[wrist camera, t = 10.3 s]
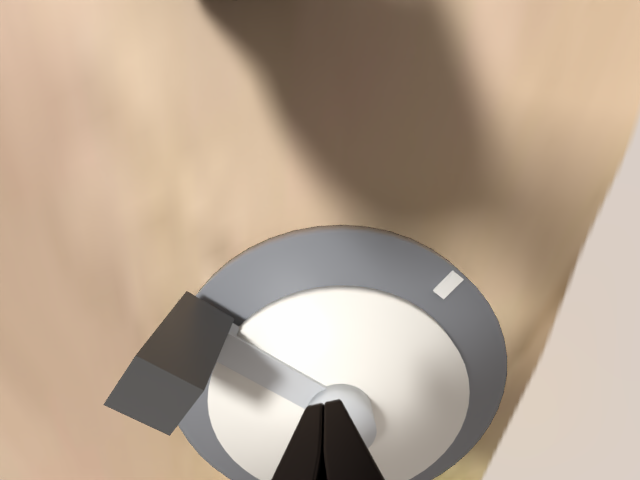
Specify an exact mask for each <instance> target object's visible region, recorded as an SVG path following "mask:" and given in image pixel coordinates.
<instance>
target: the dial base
mask: <svg viewBox="0 0 640 480" xmlns="http://www.w3.org/2000/svg"><path fill="white" fill-rule="evenodd" d="M335 285H344V286H360V287H367V288H374V289H377V290H381V291H385V292H388V293H392V294H394V295H396V296H399V297H401V298H404V299H406V300H408V301H410V302H411V303H413V304H415V305H416V306H418V307H420V308H421V309H423V310H424V311H425V312H426V313H428V314H429V315H430V316H432V317H433V318H434V319H435V320H436V321H437V322H438V323H439V325H440V326H441V327H442V328H443V329H444V330H445V332H446V333H447V335H448V336H449V338H450V339H451V341H452V342H453V344H454V345H455V347H456V348H457V350H458V351H459V353H460V355H461V357H462V359H463V362H464V364H465V367H466V371H467V374H468V378H469V390H470V394H469V405H468V409H467V413H466V417H465V420H464V422H463V425H462V427H461V430H460V431H459V433H458V435H457V436H456V438H455V440H454V441H453V443H452V444H451V445H450V446H449V448H448V449H447V450H446V451H445V453H444V454H443V455H442V456H441V457H440V458H439V459H438V460H437V461H435V462H434V463H433V464H432V465H431V466H429V467H428V468H427V469H425V470H424V471H423V472H421V473H419V474H418V475H416V476H415V477H413V478H411V479H409V480H432V479H434V478H435V477H437V476H439V475H441V474H442V473H443V472H445V471H446V470H448V469H449V468H450V467H452V466H453V465H455V464H456V463H457V462H458V461H459V460H460V459H461V458H462V457H464V456H465V455H466V454H467V453H468V452H469V451H470V450H471V449H472V448H473V446H474V445H475V444H476V443H477V442H478V441H479V440H480V438H481V437H482V435H483V434H484V433H485V431H486V430H487V428H488V427H489V425H490V424H491V422H492V420H493V418H494V416H495V414H496V412H497V410H498V407H499V404H500V401H501V398H502V396H503V393H504V387H505V381H506V376H507V354H506V348H505V341H504V337H503V334H502V331H501V328H500V325H499V322H498V320H497V318H496V316H495V314H494V312H493V310H492V308H491V307H490V305H489V303H488V302H487V300H486V299H485V298H484V296H483V295H482V294H481V293H480V291H479V290H478V289H477V287H476V286H475V285H474V284H473V283H472V282H471V281H470V280H468V279H467V278H466V277H465V276H464V275H463V274H462V273H461V272H460V271H459V270H458V269H457V268H456V267H455V266H454V265H453V264H452V263H451V262H449V261H448V260H447V259H445V258H444V257H442V256H441V255H439V254H438V253H437V252H435V251H434V250H432V249H431V248H429V247H427V246H425V245H423V244H421V243H419V242H417V241H415V240H413V239H410V238H407V237H404V236H401V235H399V234H396V233H393V232H390V231H385V230H380V229H375V228H370V227H363V226H349V225H333V226H317V227H311V228H306V229H300V230H295V231H291V232H288V233H285V234H282V235H278V236H275V237H272V238H269V239H267V240H265V241H263V242H261V243H259V244H257V245H254V246H252V247H250V248H248V249H247V250H245V251H244V252H242V253H240V254H239V255H237V256H236V257H234V258H233V259H231V260H230V261H228V262H227V263H226V264H225V265H224V266H223V267H222V268H220V269H219V270H218V271H217V272H216V273H215V274H213V275H212V277H211V278H210V279H209V280H208V281H207V282H206V284H205V285H204V286H203V287H202V288H201V289H200V290H199V292H198V293H197V295H196V297H198V298H199V299H201V300H203V301H205V302H206V303H208V304H210V305H212V306H213V307H215V308H217V309H218V310H220V311H222V312H224V313H225V314H227V315H229V316H231V317H232V318H234V321H233V323H234V324H236V325H237V326H240V325H241V324H242V323H243V322H244V321H245V320H246V319H248V318H249V317H250V316H251V315H252V314H253V313H255V312H256V311H258V310H260V309H261V308H263V307H264V306H266V305H267V304H269V303H271V302H273V301H275V300H277V299H280V298H282V297H284V296H287V295H290V294H293V293H296V292H299V291H302V290H307V289H311V288H316V287H324V286H335ZM216 363H217V362H216ZM215 365H216V364H215ZM214 367H215V366H214ZM213 370H214V369H213ZM212 372H213V371H212ZM211 375H212V373H211ZM210 379H211V376H210V378H209V380H208V383H207V385H206V388H205V390H204V392H203V393H202V394H201V395H200V397H199V398H198V399H197V401H196V402H195V403H194V405H193V406H192V407H191V409H190V410H189V411H188V412H187V414H186V415H185V416H184V418H183V419H182V420H181V422H180V423H179V424H178V425H179V427H180V429H181V430H182V432H183V433H184V435H185V437H186V438H187V440H188V441H189V443H190V444H191V445H192V446H193V447H194V449H195V450H196V451H197V452H198V453H199V454H200V456H202V457H203V458H204V459H205V460H206V461H207V462H208V463H209V464H210V465H211V466H212V467H214V468H215V469H216V470H218V471H219V472H221V473H222V474H223V475H225V476H226V477H228V478H229V479H231V480H259V479H258V478H256V477H254V476H253V475H251V474H250V473H248V472H247V471H246V470H244V469H243V468H242V467H241V466H240V465H238V464H237V463H236V462H235V461H234V460H233V459H232V458H231V457H230V456H229V454H228V453H227V452H226V451H225V450H224V448H223V447H222V445H221V443H220V442H219V440H218V439H217V436H216V434H215V432H214V430H213V428H212V424H211V421H210V417H209V411H208V388H209V383H210Z"/></svg>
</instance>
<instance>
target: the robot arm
mask: <svg viewBox="0 0 640 480" xmlns="http://www.w3.org/2000/svg"><path fill="white" fill-rule="evenodd" d="M271 480H385V479H384V477H383V475H382V473H381V472H380V470H379V468H378V466H377V464H376V462H375V461H374V459H373V457H372V455H371V453H370V451H369V450H368V448H367V446H366V444H365V442H364V440H363V439H362V437H361V435H360V433H359V431H358V429H357V428H356V426H355V424H354V422H353V420H352V419H351V417H350V415H349V413H348V411H347V409H346V408H345V406H344V404H343V402H342V401H341V400H340V399H336V400H331V401H327V402H325V404H323V403H317V404H312V405H308V406H307V407H306V408H305V410H304V412H303V414H302V416H301V419H300V421H299V423H298V425H297V427H296V429H295V431H294V433H293V435H292V437H291V440H290V442H289V444H288V446H287V448H286V450H285V452H284V454H283V456H282V458H281V460H280V463H279V465H278V467H277V469H276V471H275V473H274V475H273V477H272V479H271Z"/></svg>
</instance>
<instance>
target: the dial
mask: <svg viewBox="0 0 640 480" xmlns="http://www.w3.org/2000/svg"><path fill="white" fill-rule="evenodd" d="M233 321H234V318H232V317H231V316H229V315H227V314H225V313H224V312H222V311H220V310H218V309H217V308H215V307H213V306H212V305H210V304H208V303H206V302H205V301H203V300H201V299H199V298H198V297H196V296H194V295H193V294H191V293H189V292H187V291H186V293H185V294H184V295H183V296H182V298H181V299H180V300H179V302H178V303H177V304H176V305H175V307H174V308H173V309H172V310H171V312H170V313H169V314H168V315H167V317H166V318H165V319H164V320H163V322H162V323H161V324H160V325H159V327H158V328H157V329H156V331H155V332H154V333H153V334H152V336H151V337H150V338H149V339H148V341H147V342H146V343H145V344H144V346H143V347H142V348H141V349H140V351H139V352H138V353H137V355H136V356H135V357H134V359H133V360H132V362H131V364H130V365H129V367H128V368H127V370H126V371H125V373H124V374H123V376H122V377H121V379H120V380H119V382H118V383H117V385H116V386H115V388H114V390H113V391H112V393H111V394H110V396H109V397H108V399H107V400H106V402H105V403H104V405H105V406H107V407H109V408H112V409H114V410H116V411H118V412H120V413H122V414H124V415H127V416H129V417H131V418H133V419H135V420H137V421H139V422H142V423H144V424H146V425H148V426H150V427H152V428H154V429H157V430H159V431H161V432H163V433H165V434H167V435H169V436H170V435H171V433H172V432H173V431H174V429H175V428H176V427H177V425H178V424H179V423H180V422H181V420H182V419H183V418H184V416H185V415H186V414H187V412H188V411H189V410H190V409H191V407H192V406H193V405H194V403H195V402H196V401H197V399H198V398H199V397H200V395H201V394H202V393H203V392H204V390H205V388H206V385H207V383H208V380H209V378H210V376H211V379H210V383H209V388H208V411H209V417H210V421H211V424H212V428H213V430H214V432H215V434H216V436H217V439H218V440H219V442H220V443H221V445H222V447H223V448H224V450H225V451H226V452H227V453H228V454H229V456H230V457H231V458H232V459H233V460H234V461H235V462H236V463H237V464H238V465H240V466H241V467H242V468H243V469H244V470H246V471H247V472H248V473H250V474H251V475H253V476H254V477H256V478H258V479H259V480H271V479H272V477H273V475H274V473H275V471H276V469H277V467H278V465H279V463H280V460H281V458H282V456H283V454H284V452H285V450H286V448H287V446H288V444H289V442H290V440H291V437H292V435H293V433H294V431H295V429H296V427H297V425H298V423H299V421H300V419H301V416H302V414H303V412H304V410H305V408H306V407H307V406H308V405H312V404H317V403H323V404H325V402H327V401H331V400H336V399H340V400H341V401H342V402H343V404H344V406H345V408H346V409H347V411H348V413H349V415H350V417H351V419H352V420H353V422H354V424H355V426H356V428H357V429H358V431H359V433H360V435H361V437H362V439H363V440H364V442H365V444H366V446H367V448H368V450H369V451H370V453H371V455H372V457H373V459H374V461H375V462H376V464H377V466H378V468H379V470H380V472H381V473H382V475H383V477H384V479H385V480H409V479H411V478H413V477H415V476H416V475H418V474H419V473H421V472H423V471H424V470H425V469H427V468H428V467H429V466H431V465H432V464H433V463H434V462H435V461H437V460H438V459H439V458H440V457H441V456H442V455H443V454H444V453H445V451H446V450H447V449H448V448H449V446H450V445H451V444H452V443H453V441H454V440H455V438H456V436H457V435H458V433H459V431H460V430H461V427H462V425H463V422H464V420H465V417H466V413H467V409H468V405H469V394H470V390H469V378H468V374H467V371H466V367H465V364H464V362H463V359H462V357H461V355H460V353H459V351H458V350H457V348H456V347H455V345H454V344H453V342H452V341H451V339H450V338H449V336H448V335H447V333H446V332H445V330H444V329H443V328H442V327H441V326H440V325H439V323H438V322H437V321H436V320H435V319H434V318H433V317H432V316H430V315H429V314H428V313H426V312H425V311H424V310H423V309H421V308H420V307H418V306H416V305H415V304H413V303H411V302H410V301H408V300H406V299H404V298H401V297H399V296H396V295H394V294H392V293H388V292H385V291H381V290H377V289H374V288H367V287H360V286H344V285H335V286H324V287H316V288H311V289H307V290H302V291H299V292H296V293H293V294H290V295H287V296H284V297H282V298H280V299H277V300H275V301H273V302H271V303H269V304H267V305H266V306H264V307H263V308H261V309H260V310H258V311H256V312H255V313H253V314H252V315H251V316H250V317H249V318H248V319H246V320H245V321H244V322H243V323H242V324H241V325H240V326H237V325H236V324H234V323H233ZM216 362H217V363H216ZM215 364H216V365H215ZM214 366H215V367H214ZM213 369H214V370H213ZM212 371H213V372H212ZM211 373H212V375H211Z"/></svg>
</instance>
